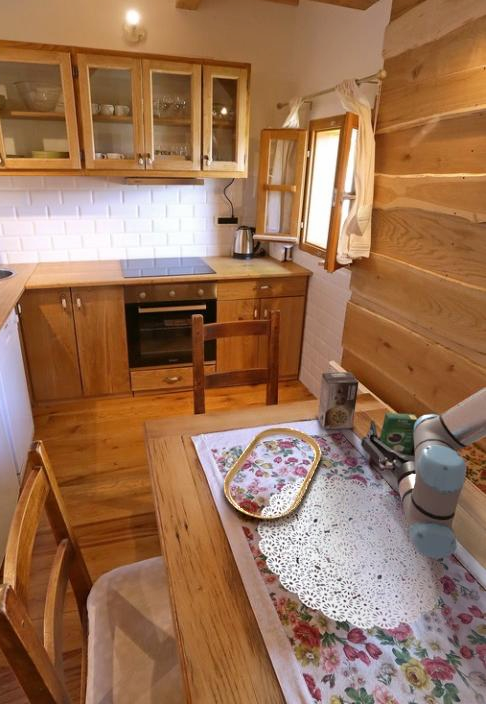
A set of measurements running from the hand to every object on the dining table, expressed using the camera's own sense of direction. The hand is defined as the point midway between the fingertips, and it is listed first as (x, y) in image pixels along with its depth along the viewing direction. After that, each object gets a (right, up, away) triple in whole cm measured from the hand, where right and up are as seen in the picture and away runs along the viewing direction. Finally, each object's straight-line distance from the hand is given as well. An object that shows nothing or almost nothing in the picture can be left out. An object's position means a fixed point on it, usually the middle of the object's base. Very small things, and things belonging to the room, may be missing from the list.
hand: (399, 428), depth 107 cm
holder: (0, -9, +3) cm, 9 cm away
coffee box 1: (-12, -3, +18) cm, 22 cm away
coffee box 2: (-1, -9, +3) cm, 9 cm away
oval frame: (-33, -10, -2) cm, 35 cm away
